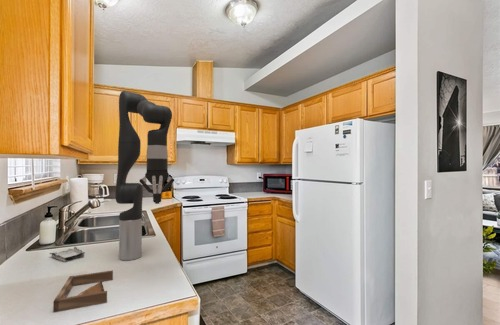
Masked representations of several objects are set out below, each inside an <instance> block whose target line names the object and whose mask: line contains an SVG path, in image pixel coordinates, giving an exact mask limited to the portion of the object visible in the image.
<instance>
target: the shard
mask: <svg viewBox="0 0 500 325" xmlns="http://www.w3.org/2000/svg"><path fill="white" fill-rule="evenodd" d="M102 291H105V288H104V284H103V281H101V282H96V283H95V284H94V285H93V286H90V287H88V288H86V289H85V290H83V291H81V292H80V293H78V294H77V295H76V296H78V295H84V294H90V293H96V292H102Z"/></svg>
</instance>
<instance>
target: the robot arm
mask: <svg viewBox="0 0 500 325" xmlns="http://www.w3.org/2000/svg"><path fill="white" fill-rule="evenodd" d="M129 113H132V114H139V115H140V116H141V117H142V119H143V121H144V122H145V123H148V124H156V125H160V126H159V128H158V129H157V128H156V129H151V130H148V132H147V134H146V135H147V139H146V140H147V141H146V142H147V143H146V144H147V146H146V147H147V148H146V156H145V158H146V172H145V174H144V176H143V177H142V178H140V179H139V182H127V178H128V175H129V173H130V171H131V169H132V168H133V166H134V165H135V163H136V162H138V159H139V158H140V155H141V138H140V136H139V135H138V132H137V131H136V130H135V128H134V126H133V124H132V122H131V120H130V116H129ZM118 117H119V119H118V120H119V128H118V130H119V131H118V142H117V143H118V144H117V146H118V147H117V173H116V174H117V175H116V182H115V193H114V194H115V196H114V197H115V202H116V203H117V204H119V205H121V204H122V205H127V204H131V205H132V204H133V205H132V207H131V208H129V209H126V210H124V211H122V212H120V213H119V216H118V218H119V220H118V226H119V230H118V235H119V236H118V238H119V239H118V259H119V260H120V261H133V260H136V259H139V258H141V257H142V250H143V249H142V248H143V247H142V246H143V245H142V244H143V242H142V241H143V240H142V239H143V238H142V237H143V232H142V231H143V230H142V229H143V228H142V227H143V221H142V220H143V217H142V216H143V215H142V214H143V197H144V196H143V194H144V189H143V187H144V188H145V190H146V191H147V192H148V193H150V194H152V199H153V200H152V202H153V203H155V205H158V204H160V203H162V194H163V193H166V192H167V190H168V189H169V188H170V187H171V186H172V184H173V183H174V182H175V178H173V177H172V176H170V173H169V172H168V170H169V169H168V168H169V167H168V165H169V164H168V161H169V159H168V158H169V155H168V154H169V152H168V151H169V150H168V133H169V128H170V125H171V122H172V120H173V119H172V118H173V113H172V110H171V109H170V107H169V106H166V105H159V104H156V103H154V102H152V101H150V100H148V99H147V98H146V97H145V96H144V95H142V94H140V93H137V92H131V91H127V90H122V91H121V92H120V93H119V97H118ZM147 181H148V182H149V183H150V184H151V185H152V188H150V186H149V185H148V183H147ZM165 182H167V183H166V185H165V186H164V187H163V184H164V183H165Z"/></svg>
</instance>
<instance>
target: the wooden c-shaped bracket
mask: <svg viewBox="0 0 500 325" xmlns="http://www.w3.org/2000/svg"><path fill="white" fill-rule="evenodd" d="M113 272H114V270H112V269H111V270H106V271H100V272H99V271H98V272H93V273H92V272H91V273H85V274H79V275H78V274H77V275H70V276H68V278H67V280H66V281H65V283H64V285H63V286H62V287H61V289H60V291H59V293H58V294H57V295H56V297H55V298H54V300H53V302H52V303H53V306H52V308H53V310H52V312H53V313H55V312H56V313H57V312H63V311H67V310H73V309H78V308H83V307H89V306H95V305H101V304H105V303H107V302H108V290H104V291H102V292H96V293H90V294H84V295H78V294H77V295H78V296H77V295H74V296H69V294H70V292H71V290H72V289H73V287H75V286H83V285H88V284H97V283H99V282H101V281H102V282H108V281H113V280H114V278H113V277H114V276H113V274H114V273H113Z"/></svg>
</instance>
